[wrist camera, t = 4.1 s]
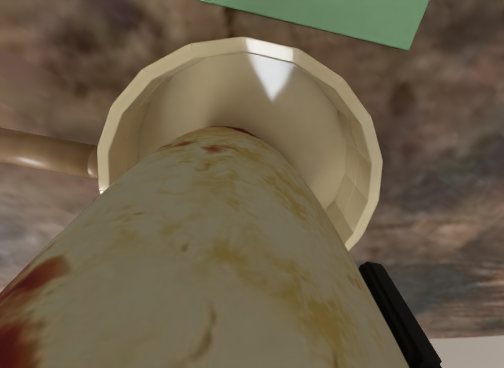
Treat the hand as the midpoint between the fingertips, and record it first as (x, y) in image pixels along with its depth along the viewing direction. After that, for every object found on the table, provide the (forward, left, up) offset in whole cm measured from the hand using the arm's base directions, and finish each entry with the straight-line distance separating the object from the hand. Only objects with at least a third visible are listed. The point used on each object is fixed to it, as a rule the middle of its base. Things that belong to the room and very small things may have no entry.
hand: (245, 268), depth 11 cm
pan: (-1, +1, -9) cm, 9 cm away
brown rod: (-12, +1, -6) cm, 14 cm away
